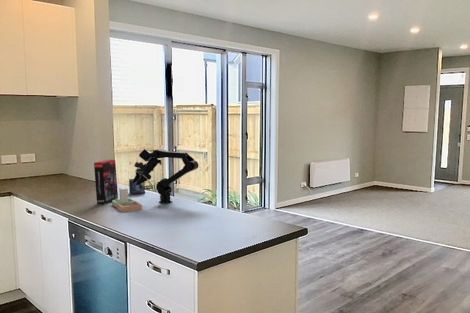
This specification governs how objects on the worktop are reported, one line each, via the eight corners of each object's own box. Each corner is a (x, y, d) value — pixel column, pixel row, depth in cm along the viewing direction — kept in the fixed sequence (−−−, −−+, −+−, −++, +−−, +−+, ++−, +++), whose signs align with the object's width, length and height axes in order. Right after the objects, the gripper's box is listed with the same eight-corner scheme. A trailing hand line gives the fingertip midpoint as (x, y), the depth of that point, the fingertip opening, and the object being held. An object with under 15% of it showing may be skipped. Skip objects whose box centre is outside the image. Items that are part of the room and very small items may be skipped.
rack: (141, 209, 241) (141, 204, 241) (122, 212, 235) (121, 207, 235) (130, 202, 261) (130, 197, 261) (112, 204, 255) (112, 200, 255)
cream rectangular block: (126, 204, 256) (125, 187, 255) (128, 205, 251) (127, 188, 250) (120, 204, 254) (119, 187, 253) (122, 206, 250) (121, 189, 248)
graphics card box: (105, 204, 256) (103, 162, 253) (95, 204, 257) (93, 162, 254) (118, 198, 272) (116, 159, 269) (109, 198, 274) (107, 159, 271)
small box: (130, 194, 286) (129, 180, 285) (129, 193, 292) (128, 179, 291) (145, 193, 290) (144, 179, 289) (143, 191, 296) (143, 178, 295)
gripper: (138, 156, 264) (121, 173, 260) (145, 158, 247) (128, 177, 243) (150, 167, 268) (134, 184, 264) (158, 170, 252) (141, 189, 248)
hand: (134, 183), depth 255 cm, fingers open, 9 cm apart
